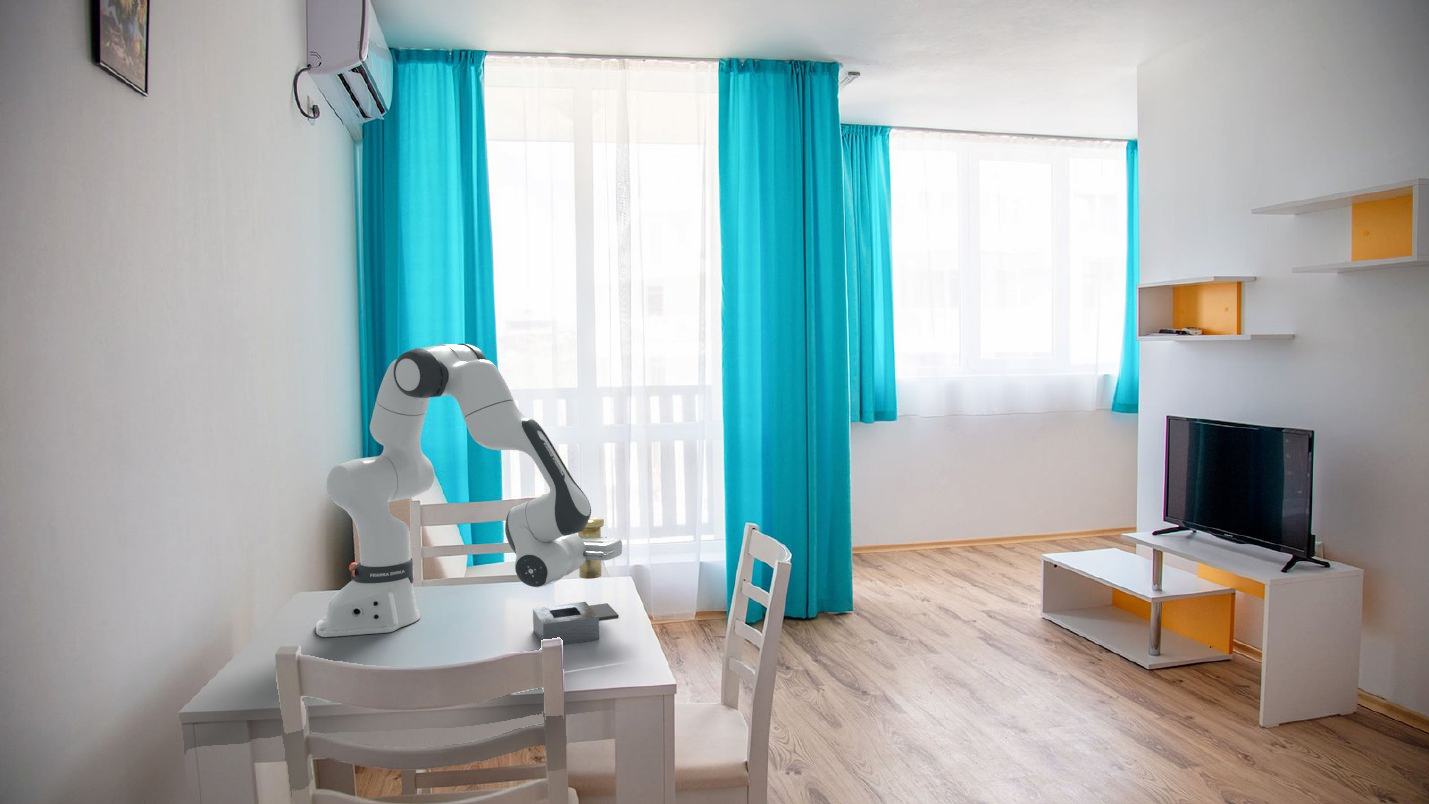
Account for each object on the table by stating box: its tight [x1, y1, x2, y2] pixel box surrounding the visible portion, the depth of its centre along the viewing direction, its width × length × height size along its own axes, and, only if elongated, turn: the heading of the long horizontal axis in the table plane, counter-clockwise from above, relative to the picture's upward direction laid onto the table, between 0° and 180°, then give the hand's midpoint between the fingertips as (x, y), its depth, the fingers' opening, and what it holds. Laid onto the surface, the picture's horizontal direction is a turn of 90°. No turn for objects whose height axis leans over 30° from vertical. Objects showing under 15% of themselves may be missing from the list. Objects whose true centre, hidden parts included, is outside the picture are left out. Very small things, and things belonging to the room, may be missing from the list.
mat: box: [589, 602, 620, 621], centre depth 200 cm, size 10×10×1 cm
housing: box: [532, 601, 600, 645], centre depth 186 cm, size 12×12×5 cm
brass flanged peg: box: [577, 517, 605, 580], centre depth 199 cm, size 7×7×13 cm
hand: (591, 539), depth 200 cm, fingers closed on brass flanged peg, 5 cm apart
